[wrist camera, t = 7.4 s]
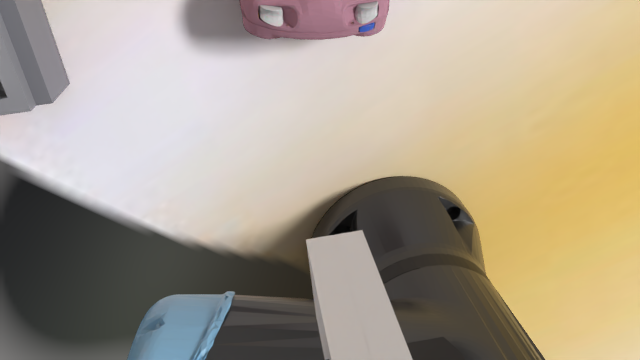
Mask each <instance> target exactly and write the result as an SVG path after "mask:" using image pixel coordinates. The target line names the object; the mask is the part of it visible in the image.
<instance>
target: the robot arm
mask: <svg viewBox="0 0 640 360" xmlns="http://www.w3.org/2000/svg"><path fill="white" fill-rule="evenodd" d="M306 244H307V252H308V259H309V267H310V274H311V281H312V289H313V296H314V299H305V298H287V297H267V296H249V295H248V296H247V295H235V292H233V291H227V292H225V293H224V294H177V295H171V296H168V297H165V298H163V299H161V300H159V301H158V302H157V303H155V304H154V305H153V306H152V307H151V308H150V309H149V310H148V311H147V313H146V315H145V317H144V318H143V320H142V321H141V323H140V326H139V328H138V330H137V333H136V335H135V338H134V341H133V343H132V347H131V349H130V352H129V355H128V359H127V360H545V359H544V357H543V356H542V354H541V353H540V351H539V350H538V349H537V347H536V346H535V344H534V343H533V341H532V340H531V339H530V337H529V336H528V334H527V333H526V332H525V330H524V329H523V327H522V326H521V324H520V323H519V322H518V320H517V319H516V317H515V316H514V315H513V313H512V312H511V310H510V309H509V307H508V306H507V305H506V303H505V302H504V300H503V299H502V297H501V296H500V295H499V293H498V292H497V290H496V289H495V288H494V286H493V285H492V283H491V282H490V280H489V279H488V277H487V276H486V272H485V266H484V260H483V254H482V248H481V242H480V236H479V232H478V229H477V226H476V224H475V222H474V220H473V218H472V216H471V215H470V213H469V212H468V211H467V209H466V208H465V206H464V205H463V204H462V202H461V201H460V200H459V199H458V198H457V197H456V195H454V194H453V193H452V192H451V191H450V190H448V189H447V188H445V187H444V186H442V185H440V184H438V183H436V182H433V181H430V180H427V179H423V178H417V177H390V178H385V179H380V180H376V181H373V182H370V183H368V184H365V185H363V186H361V187H358V188H356V189H355V190H353V191H351V192H350V193H348V194H346V195H345V196H344V197H342V198H341V199H340V200H339V201H337V202H336V203H335V204H334V205H333V206H332V207H331V208H330V209H329V210H328V211H327V212H326V214H325V215H324V216H323V218H322V219H321V221H320V222H319V224H318V226H317V228H316V230H315V232H314V234H313V237H312V238H311V239H306Z"/></svg>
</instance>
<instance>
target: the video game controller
mask: <svg viewBox="0 0 640 360" xmlns="http://www.w3.org/2000/svg"><path fill="white" fill-rule="evenodd" d="M239 1H240V6H241V11H242V17H243V25H244V28H245V29H246V30H247V31H248V32H249V33H251V34H252V35H255V36H257V37H260V38H265V39H274V38H280V37H284V38H293V39H332V38H340V37H347V36H351V35H356V36H371V35H374V34H376V33H378V32H380V31H381V30H382V29H383V28H384V25H385V21H386V17H387V14H388V10H389V0H239Z"/></svg>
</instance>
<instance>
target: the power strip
mask: <svg viewBox="0 0 640 360" xmlns="http://www.w3.org/2000/svg"><path fill="white" fill-rule="evenodd" d="M69 84H70V83H69V80H68V77H67V74H66V71H65V68H64V66H63V63H62V60H61V57H60V54H59V51H58V48H57V45H56V42H55V39H54V37H53V34H52V31H51V28H50V25H49V22H48V19H47V16H46V13H45V11H44V8H43V5H42V2H41V0H0V115H6V114H13V113H20V112H28V111H31V110H32V109H33V108H34V107H35V106H36V105H43V104H50V103H53V102H54V101H55V100H56V99H57V97H58V96H59V95H60V94H61V93H62V92H63V91H64V89H65V88H66V87H67V86H68V85H69Z"/></svg>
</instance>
